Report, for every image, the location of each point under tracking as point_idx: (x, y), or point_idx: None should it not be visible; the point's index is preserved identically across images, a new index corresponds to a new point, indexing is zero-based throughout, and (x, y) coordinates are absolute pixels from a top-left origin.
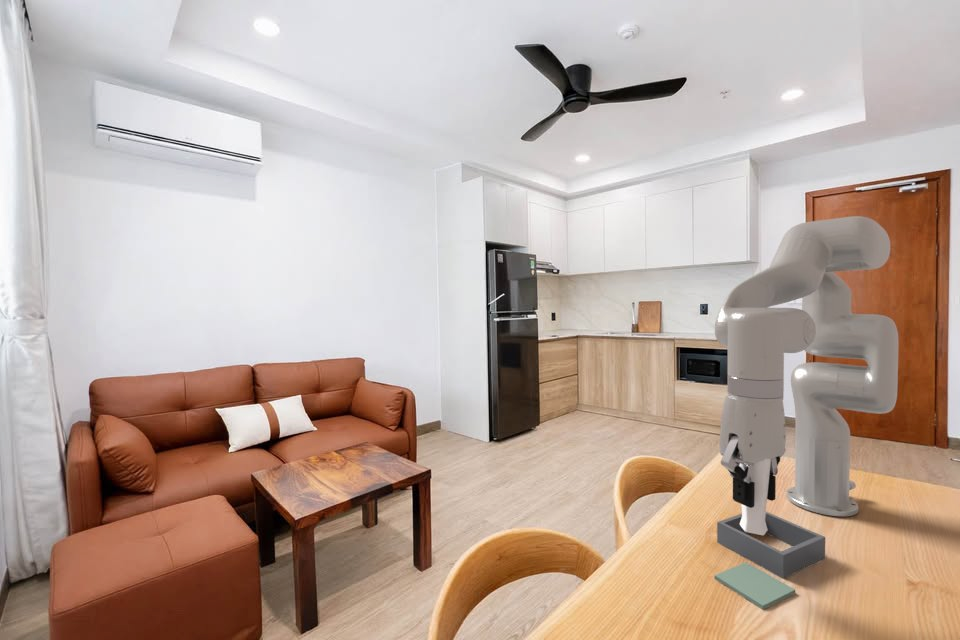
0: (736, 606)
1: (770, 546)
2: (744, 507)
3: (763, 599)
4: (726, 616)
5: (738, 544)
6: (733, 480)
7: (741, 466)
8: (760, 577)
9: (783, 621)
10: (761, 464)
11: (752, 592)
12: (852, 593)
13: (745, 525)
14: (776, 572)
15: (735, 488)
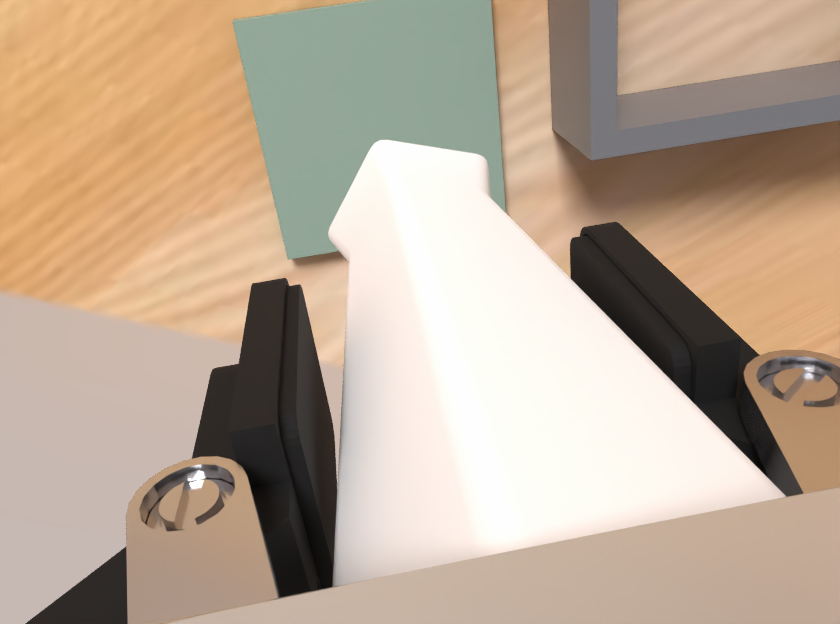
0: (194, 208)
1: (612, 73)
2: (362, 272)
3: (323, 232)
4: (107, 242)
5: None
6: (238, 400)
7: (383, 532)
8: (443, 113)
9: (311, 316)
10: None
11: (314, 184)
12: (699, 275)
13: (341, 240)
14: (554, 100)
15: (206, 424)
